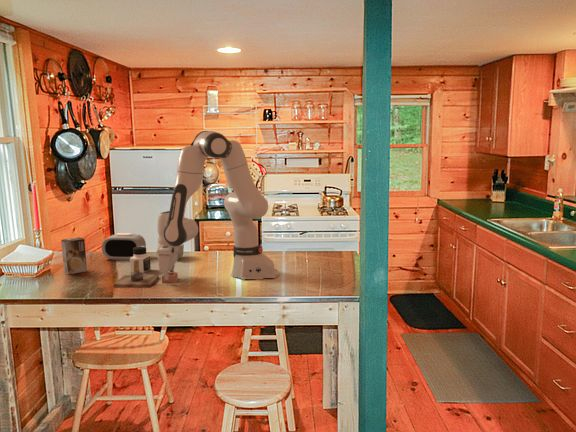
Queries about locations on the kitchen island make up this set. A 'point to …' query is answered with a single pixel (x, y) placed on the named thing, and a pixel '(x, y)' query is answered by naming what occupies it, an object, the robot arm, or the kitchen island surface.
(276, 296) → the kitchen island surface
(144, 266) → the medicine bottle
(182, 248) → the teacup
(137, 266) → the toggle switch plate
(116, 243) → the alarm clock
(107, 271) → the kitchen island surface
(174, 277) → the ring
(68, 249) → the coffee box
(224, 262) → the kitchen island surface
